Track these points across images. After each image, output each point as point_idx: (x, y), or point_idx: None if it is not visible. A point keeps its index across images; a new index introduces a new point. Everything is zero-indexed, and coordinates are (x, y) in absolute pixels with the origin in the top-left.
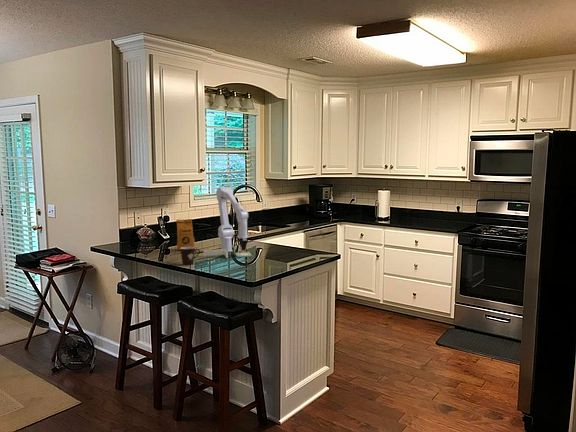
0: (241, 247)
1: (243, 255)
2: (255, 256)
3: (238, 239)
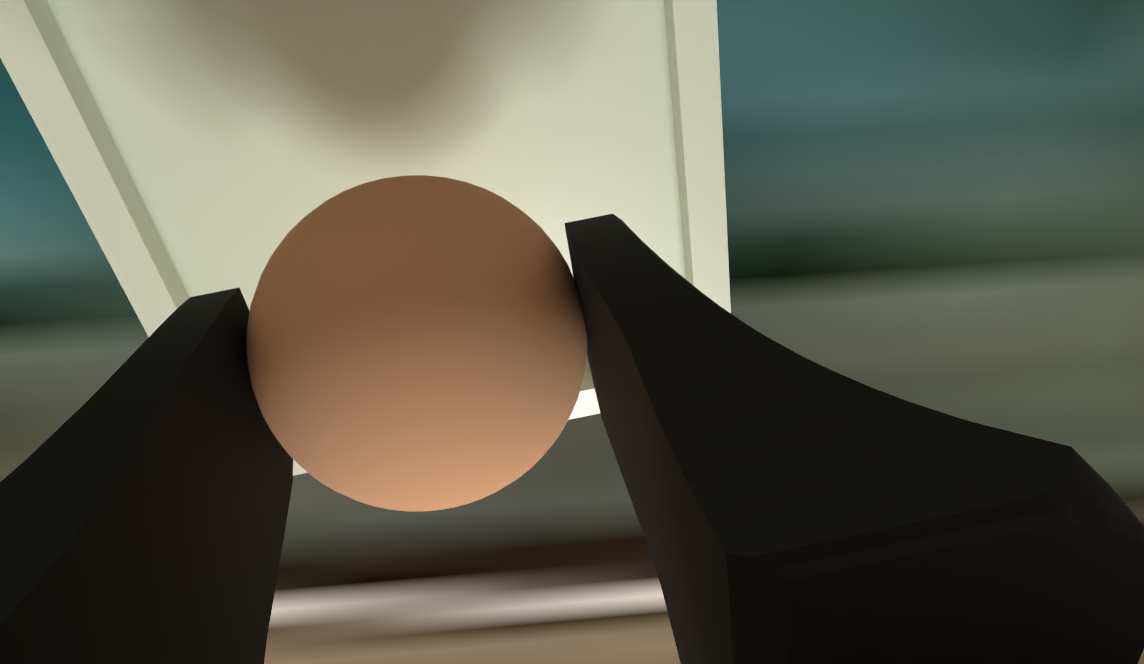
0: (306, 339)
1: (104, 231)
2: None
3: (751, 568)
